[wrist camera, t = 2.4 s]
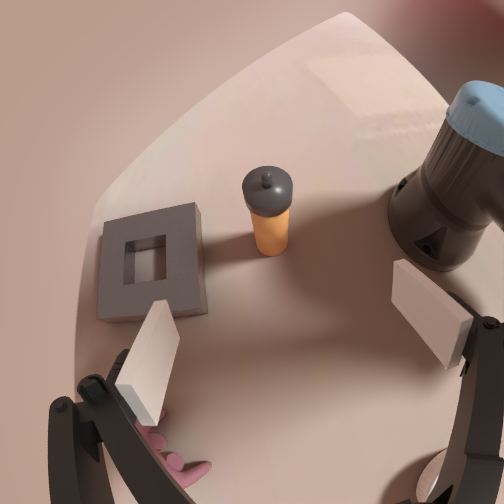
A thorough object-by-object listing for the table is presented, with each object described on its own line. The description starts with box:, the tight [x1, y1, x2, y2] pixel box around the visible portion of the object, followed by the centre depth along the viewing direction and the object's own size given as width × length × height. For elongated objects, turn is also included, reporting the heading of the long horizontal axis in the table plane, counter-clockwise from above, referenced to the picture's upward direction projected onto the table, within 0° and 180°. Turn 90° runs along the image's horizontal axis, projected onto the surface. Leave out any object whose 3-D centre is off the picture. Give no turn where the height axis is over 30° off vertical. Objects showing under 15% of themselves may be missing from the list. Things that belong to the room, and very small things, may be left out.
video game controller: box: [135, 409, 212, 489], centre depth 25 cm, size 10×5×7 cm, turn 41°
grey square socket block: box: [97, 202, 208, 323], centre depth 35 cm, size 14×14×3 cm
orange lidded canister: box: [242, 166, 293, 256], centre depth 30 cm, size 5×5×14 cm
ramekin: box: [416, 449, 447, 502], centre depth 18 cm, size 11×11×5 cm
